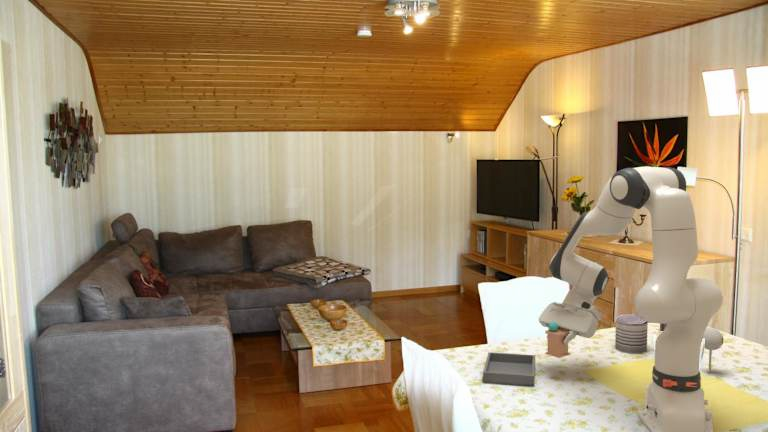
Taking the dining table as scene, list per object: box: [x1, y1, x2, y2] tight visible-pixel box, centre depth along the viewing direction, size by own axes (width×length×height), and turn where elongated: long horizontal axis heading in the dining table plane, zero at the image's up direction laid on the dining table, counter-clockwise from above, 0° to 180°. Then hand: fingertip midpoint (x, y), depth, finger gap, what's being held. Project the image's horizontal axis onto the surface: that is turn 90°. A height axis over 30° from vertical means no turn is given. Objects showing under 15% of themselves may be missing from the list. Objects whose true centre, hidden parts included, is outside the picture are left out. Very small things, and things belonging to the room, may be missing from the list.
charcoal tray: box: [482, 351, 536, 387], centre depth 211 cm, size 20×16×4 cm
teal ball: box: [547, 322, 558, 331], centre depth 207 cm, size 3×3×3 cm
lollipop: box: [703, 327, 724, 374], centre depth 208 cm, size 7×7×15 cm
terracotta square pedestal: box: [544, 328, 571, 359], centre depth 206 cm, size 6×6×8 cm
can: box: [614, 313, 649, 355], centre depth 233 cm, size 11×11×12 cm
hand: (556, 341), depth 206 cm, fingers closed on terracotta square pedestal, 5 cm apart
